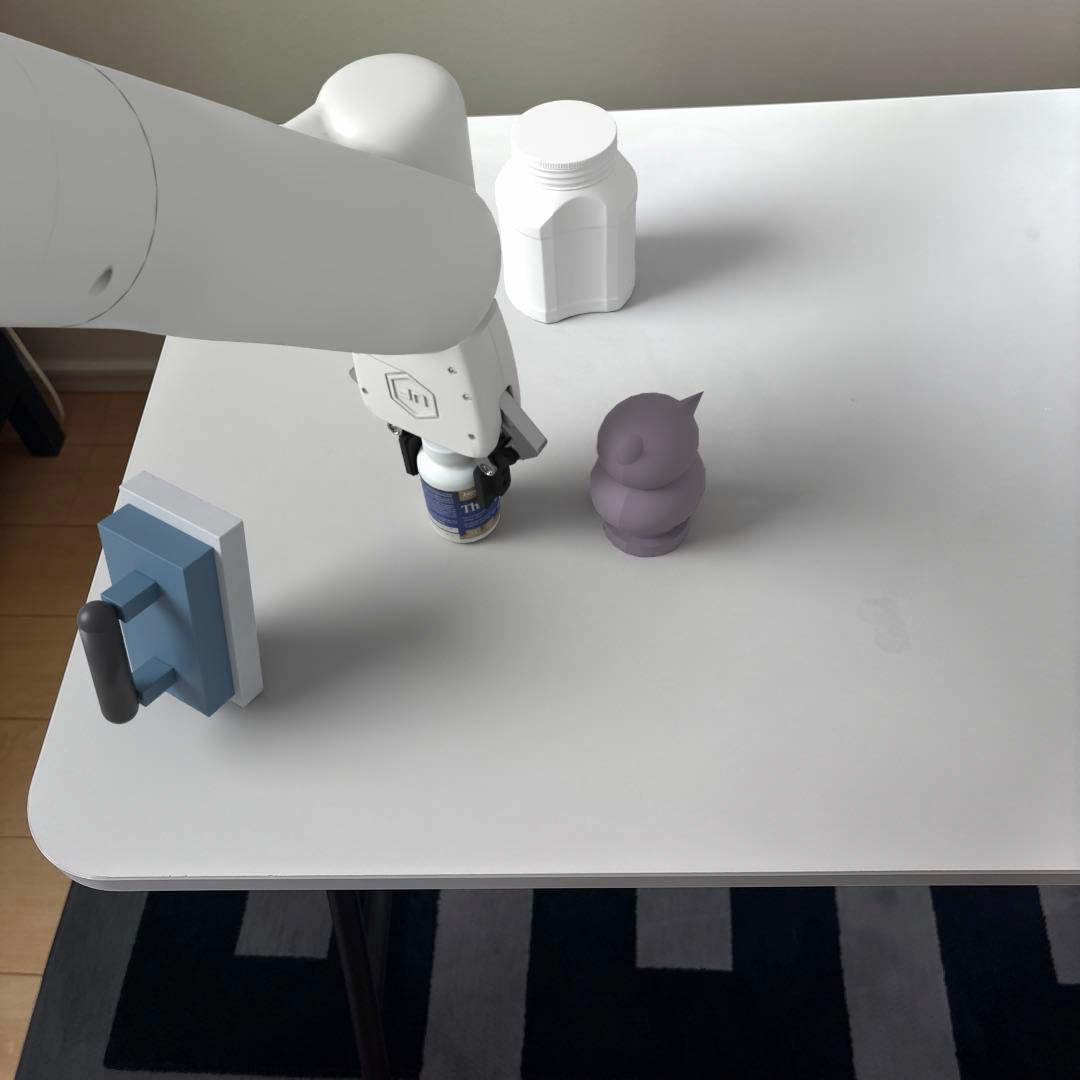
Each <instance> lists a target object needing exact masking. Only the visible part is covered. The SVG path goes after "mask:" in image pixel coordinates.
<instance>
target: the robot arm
mask: <svg viewBox="0 0 1080 1080" xmlns="http://www.w3.org/2000/svg"><path fill="white" fill-rule="evenodd" d="M474 172H475V171H474V164H473V157H472V148H471V140H470V130H469V122H468V114H467V110H466V104H465V98H464V94H463V93H462V91H461V88H460V86H459V84H458V82H457V80H456V78H454V77H453V76H452V74H451V73H450V72H449V71H448V70H447V69H446V68H445V67H443V66H442V65H441V64H439V63H437V62H435V61H433V60H431V59H428V58H427V57H423V56H419V55H416V54H411V53H399V52H398V53H397V52H396V53H394V52H393V53H381V54H373V55H370V56H366V57H363V58H360V59H357V60H354V61H352V62H350V63H348V64H346V65H344V66H343V67H341V68H340V69H338V70H337V71H335V73H334V74H332V75H331V76H330V77H328V79H327V80H326V81H325V83H324V84H323V85H322V87H321V88H320V90H319V93H318V95H317V97H316V100H315V102H314V104H312V105H311V106H309V107H308V108H307V109H305V110H304V111H302V112H301V113H299V114H298V115H296V116H294V117H293V118H291V119H289V120H288V121H286V122H285V123H283V124H282V125H280V124H278V123H275V122H272V121H269V120H267V119H263V118H261V117H258V116H256V115H253V114H251V113H249V112H245V111H243V110H240V109H238V108H235V107H231V106H228V105H225V104H223V103H219V102H217V101H213V100H211V99H209V98H204V97H202V96H199V95H196V94H193V93H190V92H186V91H183V90H180V89H176V88H174V87H170V86H167V85H163V84H162V83H161V84H160V83H157V82H155V81H151V80H148V79H145V78H142V77H139V76H136V75H134V74H130V73H128V72H125V71H121V70H118V69H116V68H115V69H114V68H112V67H108V66H104V65H102V64H98V63H95V62H92V61H88V60H85V59H83V58H80V57H77V56H75V55H71V54H68V53H64V52H61V51H59V50H55V49H52V48H50V47H47V46H44V45H41V44H37V43H35V42H32V41H29V40H25V39H23V38H20V37H16V36H14V35H11V34H8V33H5V32H2V31H0V328H56V329H103V330H105V329H106V330H123V331H124V330H125V331H133V332H134V331H135V332H143V333H147V334H153V335H160V336H168V337H172V338H173V337H175V338H182V339H191V340H200V341H209V342H211V341H212V342H227V343H228V342H230V343H245V344H259V345H261V344H262V345H272V346H274V345H275V346H284V347H285V346H286V347H293V348H294V347H295V348H304V349H313V350H321V351H331V352H340V353H341V352H342V353H349V354H350V353H351V355H352V360H353V366H352V367H351V368H350V369H349V371H348V374H349V377H350V378H351V379H352V380H353V381H354V382H355V383H356V384H357V385H358V389H359V393H360V396H361V399H362V402H363V404H364V406H365V408H366V409H367V410H368V411H369V412H370V413H371V414H372V415H374V416H375V417H377V418H378V419H380V420H382V421H384V422H386V424H387V425H386V426H387V429H388V430H389V431H390V432H391V433H392V434H394V435H396V436H398V444H399V447H400V452H401V455H402V459H403V463H404V468H405V472H406V474H408V475H410V476H412V477H415V476H418V475H419V471H418V465H417V456H418V452H419V449H420V447H421V445H422V438H424V439H426V440H428V441H431V442H433V443H435V444H438V445H440V446H442V447H445V448H447V449H449V450H452V451H454V452H457V453H459V454H462V455H465V456H468V457H473V458H475V460H476V462H477V464H478V465H477V467H476V468H475V469H474V471H473V477H474V483H475V488H476V494H477V500H478V504H479V506H480V507H483V508H485V509H488V508H489V507H490V506H491V504H492V503H493V502H494V500H495V499H496V498H497V496H499V498H501V497H503V496H504V495H505V494H506V493H507V491H508V490H509V488H510V486H511V484H512V475H511V468H510V466H514V465H516V463H517V462H518V461H521V460H522V461H525V460H530V459H535V458H537V457H539V455H540V454H541V452H542V451H543V450H544V449H545V447H546V446H547V444H548V439H547V438H546V436H545V435H544V434H543V432H542V431H541V430H540V429H539V427H538V426H537V425H536V424H535V422H533V420H532V419H531V418H530V417H529V416H528V414H527V413H526V412H525V410H524V409H523V408H522V402H521V401H522V397H521V396H522V395H521V387H520V382H519V380H520V379H519V374H518V368H517V364H516V358H515V354H514V350H513V346H512V342H511V339H510V335H509V332H508V328H507V325H506V323H505V318H504V316H503V314H502V310H501V308H500V306H499V303H498V301H497V299H496V298H495V297H496V294H497V290H498V287H499V282H500V277H501V270H502V243H501V236H500V233H499V229H498V225H497V223H496V220H495V218H494V215H493V212H492V211H491V209H490V207H489V206H488V205H487V203H486V201H485V200H484V198H482V196H481V195H480V194H479V193H478V192H477V189H476V180H475V173H474Z"/></svg>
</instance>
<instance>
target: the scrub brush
mask: <svg viewBox="0 0 1080 1080" xmlns="http://www.w3.org/2000/svg"><path fill="white" fill-rule="evenodd" d="M118 489H119V494H120V498H121V503H122V506H121V507H120V508H119V509H117V510H116V511H114V512H112V513H111V514H109V515H107V516H106V517H104V518H103V519H102V520H100V521H98V522H97V528H98V533H99V537H100V541H101V544H102V549H103V554H104V558H105V562H106V566H107V570H108V575H109V579H110V583H111V585H110V586H109V587H108V588H106V589H105V590H104V591H102V592H101V593H100V594H99V595H100V599H96V600H90V601H89V602H87V603H85V604H83V605H82V606H81V608H79V610H78V612H77V615H76V625H77V628H78V632H79V636H80V640H81V644H82V647H83V650H84V654H85V658H86V661H87V665H88V668H89V672H90V675H91V680H92V683H93V686H94V690H95V694H96V697H97V701H98V705H99V707H100V712H101V714H102V716H103V717H104V719H105V720H106V721H107V722H109V723H111V724H114V725H124V724H127V723H129V722H131V721H132V720H133V719H134V718H135V717H136V716H137V715H138V713H139V708H140V705H141V706H143V707H144V708H147V707H149V705H151V704H152V703H153V702H155V700H157V699H158V698H159V697H160V696H162V695H163V694H164V693H165V692H166V693H168V694H169V695H171V696H173V697H174V698H176V699H178V700H179V701H180V702H182V703H184V704H186V705H188V706H189V707H191V708H193V709H195V710H196V711H197V712H199V713H201V714H203V715H205V716H206V717H207V718H210V717H211V716H213V715H214V714H215V713H216V712H217V711H218V710H219V709H220V708H222V707H223V706H224V705H225V704H226V703H228V702H229V701H231V702H233V703H235V704H236V705H238V706H240V707H241V708H245V707H246V706H247V705H249V703H250V702H251V701H253V700H254V699H255V698H256V697H257V696H258V695H259V694H261V692H263V691H264V682H263V680H264V679H263V673H262V672H263V671H262V665H261V657H260V649H259V641H258V639H259V638H258V633H257V632H258V631H257V625H256V624H257V623H256V616H255V607H254V599H253V592H252V591H253V590H252V583H251V582H252V581H251V574H250V573H251V572H250V566H249V565H250V564H249V557H248V548H247V541H246V533H245V532H246V531H245V525H244V520H243V519H242V518H241V519H240V518H239V517H236V516H235V515H233V514H231V513H229V512H227V511H226V510H223V509H222V508H219V507H217V506H215V505H213V504H211V503H209V502H207V501H206V500H203V499H202V498H199V497H198V496H196V495H193V494H192V493H189V492H187V491H186V490H183V489H182V488H179V487H177V486H175V485H174V484H171V483H169V482H167V481H166V480H164V479H161V478H160V477H158V476H155V474H152V473H150V472H147V471H146V470H142V471H140V472H139V473H138V474H136V475H134V476H132V477H131V478H130V479H127V480H126V481H125V482H123V483H122V484H120V485H119V486H118Z"/></svg>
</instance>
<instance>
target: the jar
mask: <svg viewBox="0 0 1080 1080" xmlns="http://www.w3.org/2000/svg"><path fill="white" fill-rule="evenodd" d="M510 147H511V156H510V157H509V159H508V160H507V161H506V163H505V164H504V166H503V167H502V168H501V170H500V171H499V173H498V175H497V176H496V177H497V178H496V180H495V185H494V195H495V204H496V208H497V211H498V221H499V229H500V242H501V252H502V260H503V278H504V279H503V280H504V288H505V292H506V295H507V297H508V299H509V301H510V302H511V304H512V305H513V306H514V307H515V308H516V309H517V310H518V311H519V312H520V313H521V314H522V315H525V316H526V317H528V318H530V319H531V320H534V321H537V322H539V323H542V324H552V323H556V322H557V323H558V322H560V321H562V320H565V319H567V318H570V317H574V316H577V315H582V314H588V313H589V314H591V313H610V312H614V311H615V312H616V311H619V310H620V309H621V308H622V307H623V306H624V305H625V304H627V302H628V300H629V299H630V298H631V296H632V294H633V292H634V290H635V285H636V272H637V271H636V270H637V269H636V262H635V261H636V219H637V217H636V216H637V215H636V214H637V200H638V190H639V189H638V187H639V185H638V183H639V181H638V177H637V176H638V175H637V173H636V171H635V169H634V168H633V166H632V164H631V163H630V162H629V161H628V160H627V158H626V157H625V156H624V155H623V154H622V153H621V151H620V150H619V149H618V126H617V123H616V120H615V119H614V117H613V116H612V115H611V114H610V113H609V112H608V111H607V110H606V109H604V108H603V107H601V106H598V105H596V104H593V103H591V102H586V101H582V100H574V99H561V100H552V101H548V102H544V103H541V104H538V105H535V106H533V107H531V108H529V109H527V110H526V111H524V112H523V113H522V114H520V116H519V117H518V118H517V119H516V120H515V121H514V123H513V125H512V127H511V130H510Z"/></svg>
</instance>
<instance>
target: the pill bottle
mask: <svg viewBox="0 0 1080 1080" xmlns="http://www.w3.org/2000/svg"><path fill="white" fill-rule="evenodd" d="M417 465H418V471H419V474H418V475H419V479H420V483H421V487H422V492H423V497H424V501H425V506H426V509H427V513H428V514H427V515H428V518H429V521H430V525H431V526H432V529H433V530H434V531H435V532H436V533H437V534H438V535H439V536H440V537H442V538H443V539H445V540H447V541H449V542H453V543H457V544H469V543H472V542H476V541H480V540H481V539H484V538H485V537H488V536H489V534H491V533H492V532H493V531H494V530H495V528H496V527H497V526H498V524H499V522H500V518H501V513H502V511H501V509H502V508H501V500H500V497H499V496H497V498H496V499H495V500H494V502H493V503H492V504H491V506H490V507H489V508H488V509H485V508H483V507H480V506H479V504H478V500H477V494H476V488H475V483H474V477H473V471H474V469H475V468H476V467H477V465H478V464H477V462H476V460H475V458H473V457H468V456H465V455H462V454H459V453H457V452H454V451H452V450H449V449H447V448H445V447H442V446H440V445H438V444H435V443H433V442H431V441H428V440H426V439H424V438H422V445H421V447H420V449H419V452H418V456H417Z"/></svg>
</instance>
